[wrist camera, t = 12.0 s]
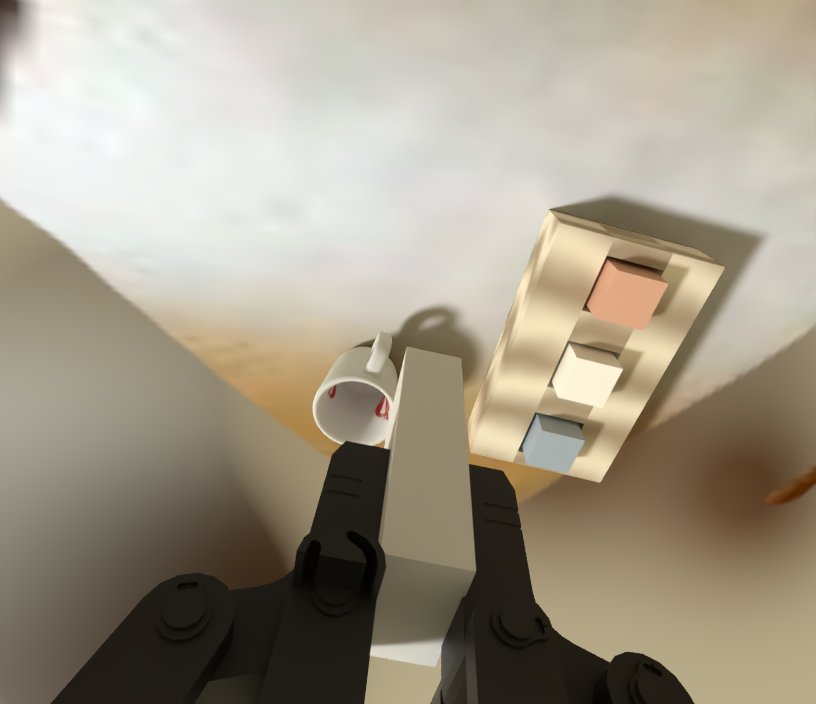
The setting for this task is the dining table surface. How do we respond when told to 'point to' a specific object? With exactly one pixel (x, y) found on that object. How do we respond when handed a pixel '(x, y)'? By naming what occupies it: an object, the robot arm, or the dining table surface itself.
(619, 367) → the key cream
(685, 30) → the dining table surface
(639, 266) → the key terracotta
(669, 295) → the console
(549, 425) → the key slate
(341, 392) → the cup
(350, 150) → the dining table surface
